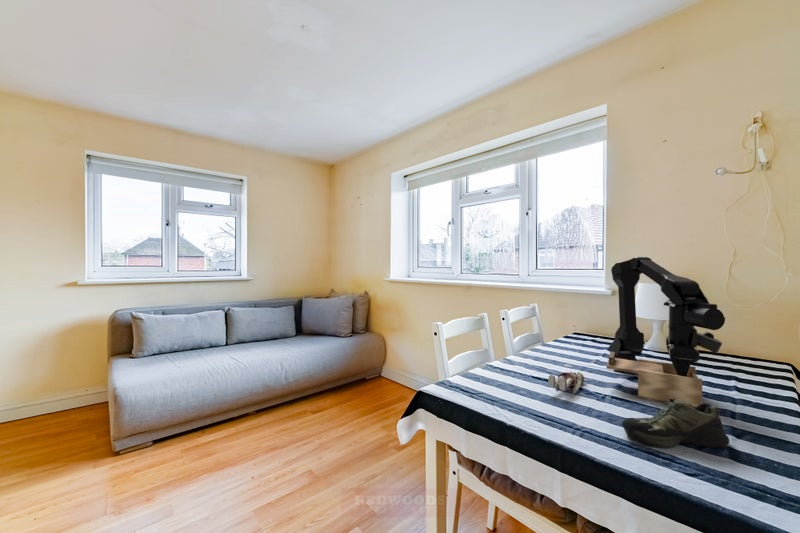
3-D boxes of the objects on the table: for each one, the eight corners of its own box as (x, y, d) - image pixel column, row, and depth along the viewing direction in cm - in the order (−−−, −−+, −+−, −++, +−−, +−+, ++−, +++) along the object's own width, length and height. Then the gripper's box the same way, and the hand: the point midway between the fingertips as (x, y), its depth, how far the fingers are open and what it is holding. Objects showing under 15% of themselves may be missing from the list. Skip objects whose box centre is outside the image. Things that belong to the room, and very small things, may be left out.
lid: (606, 368, 103) (606, 358, 103) (609, 359, 112) (609, 350, 112) (664, 377, 95) (664, 366, 95) (661, 367, 104) (661, 357, 104)
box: (638, 397, 97) (638, 369, 97) (638, 383, 109) (638, 358, 109) (701, 410, 89) (702, 379, 89) (694, 393, 100) (695, 366, 100)
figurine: (546, 373, 99) (570, 366, 113) (545, 392, 99) (569, 383, 113) (567, 378, 95) (590, 370, 109) (566, 399, 95) (589, 388, 108)
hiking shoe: (611, 429, 79) (612, 390, 79) (701, 429, 79) (702, 391, 79) (636, 449, 71) (636, 406, 71) (737, 450, 70) (738, 407, 70)
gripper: (726, 332, 84) (725, 392, 85) (713, 321, 100) (712, 372, 100) (670, 326, 91) (669, 383, 91) (665, 317, 106) (665, 365, 106)
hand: (680, 376), depth 97 cm, fingers open, 9 cm apart
